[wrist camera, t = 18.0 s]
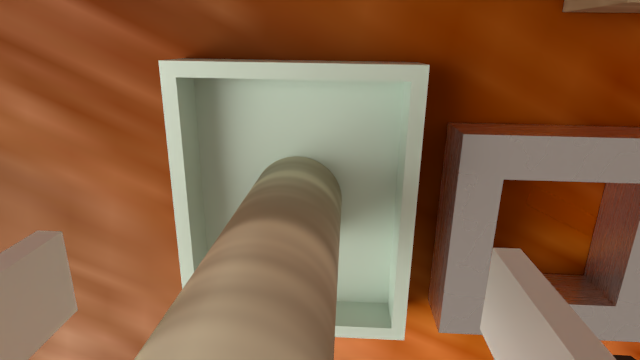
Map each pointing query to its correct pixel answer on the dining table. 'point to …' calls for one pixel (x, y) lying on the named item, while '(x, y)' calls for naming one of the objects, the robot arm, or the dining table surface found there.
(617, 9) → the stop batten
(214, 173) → the tray
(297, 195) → the dowel
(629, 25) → the dining table surface
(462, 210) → the collar
